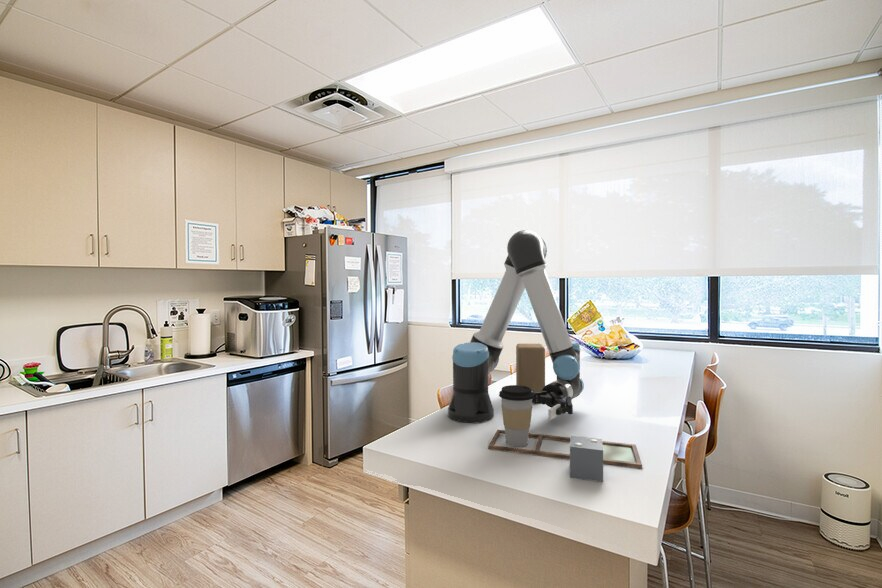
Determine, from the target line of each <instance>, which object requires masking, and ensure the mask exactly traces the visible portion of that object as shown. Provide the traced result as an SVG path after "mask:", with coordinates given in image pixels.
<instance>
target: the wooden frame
mask: <svg viewBox="0 0 882 588" xmlns="http://www.w3.org/2000/svg"><path fill="white" fill-rule="evenodd" d="M500 435H505V429H497V430H496V432H495V433H494V435H493V437H492V439H491V440H490V442H489V444H488V445H487V449H488V450H494V451H502V452H510V453H517V454H525V455H526V454H527V455H534V456H540V457H541V456H542V457H548V458H549V457H550V458H558V459H565V460H570V453H569V454H567V453H562V452H561V453H560V452H552V451H544V450H541V446H542V443H543V439H545V440H550V441H551V440H554V441H562V442H569V443H570V439H571V436H569V437H568V436H559V435H552V434H551V435H550V434H544V433H542V434H541V433H534V432H533V433H532V432H529V437H528V438H536V439H537V440H536V441H537V442H536V445H535V448H534V449H527V448H522V447H513V446H504V445H495V444H496V442H497V441H498V439H499V438H500ZM602 444H603V465H604V464H605V465H613V466H618V467H619V466H620V467H627V466H629V467H630V468H635V467H638V468H637V469H643V463H642V459H641V457H640V454H639V450H638V447H637V444H633V443H625V442H615V441H605V440H602ZM629 467H628V468H629Z"/></svg>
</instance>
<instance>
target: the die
mask: <svg viewBox="0 0 882 588" xmlns="http://www.w3.org/2000/svg"><path fill="white" fill-rule="evenodd" d="M570 437H571V439H570V442H569V454H570V459H569V478H572V479H579V480H580V479H581V480H587V481H594V482H601V483H603V482H604V463H603V444H602V441H603V439H602V438H596V437H587V436H586V437H585V436H577V435H570Z"/></svg>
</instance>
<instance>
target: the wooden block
mask: <svg viewBox="0 0 882 588" xmlns="http://www.w3.org/2000/svg"><path fill="white" fill-rule="evenodd" d="M515 348H516V349H515V355H516V358H515V360H516V361H515V364H516V365H515V367H516V368H515V370H516V371H515V373H516V374H515V375H516V377H515V378H516V380H515V385H520V386H526V387H529V388H530V389H531V390H533V392H541V391H542V389H543V388H544V387H545V386H546V349H545V347H544V346H543V345H542V344H540V343H517V344H516V346H515ZM536 401H538V400H537V399H536Z"/></svg>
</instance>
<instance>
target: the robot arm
mask: <svg viewBox="0 0 882 588" xmlns="http://www.w3.org/2000/svg"><path fill="white" fill-rule="evenodd" d="M506 248H507V249H506V251H507V256H506V258H505V261H504V263H503V264H504V268H505V272H504V274H503V277H502V278H501V281H500V282H499V286H498V287H497V290H496V293H495V295H494V297H493V299H492V301H491V304H490V306H489V308H488V311H487V313H486V316H485V317H484V320H483V322H482V324H481V327H480V329H479V331H476V332H474V333H473V334H472V336H471V338H470V341H469V342H464V343H460V344H457V345H455V347H454V348H453V351H452V356H451V357H452V358H451V359H452V390H453V391H452V395H451V398H450V400H449V404H448V407H447V416H448V418H450V419H451V420H453V421H456V422H460V423H483V422H487V421H490V420H492V419H493V418H494V417H495V415H494V411H495V410H494V407H493V403H492V400H491V398H490V394H489V374H490V373H492V371H494V370H495V368H496V367H497V366H498V364H499V361H500V356H501V353H502V351H503V349H504V345H503V344H504V343H503V342H502V341H503V338H504V336H505V334H506V332H507V329H508V327H509V325H510V323H511V320H512V318H513V317H514V316H513V315H514V313H515V311H516V309H517V307H518V305H519V302H520V300H521V298H522V297H523V294H524V291H526V293H527V295H528V299H529V301H530V304H531V307H532V310H533V312H534V315H535V318H536V320H537V325H539V329H540V331H541V334H542V337H543V340H544V342H545V345H546V348H547V351H548V353H549V356H550V358H551V359H550V360H551V363H552V368H553V372H554V375H556V380H554V381H552V382H550V383H548V384H545V387H544V388H543V389H542V391H541V392H533V390H531V392H532V393H533V394H534V395H533V396H534V398H533V399H532V404H534V405H543V406H544V405H545V406H547V407H548V409H547V411H548V412H547V414H548V417H547V419H548V420H549V421H551V420H554V419H555V418H557V417H558V416H561V415H565V414H566V413H567V414H568V415H569V416H570V415H573V414H574V413H573V411H574V410H573V409H574V408H573V406H574V405H573V402H572V400H573V399H575V398H577V397H578V396H580V394H582V392H583V391H584V387H585V384H584V380H583V379H582V378H581V375H580V374H581V373H580V371H581V363H580V362H581V346H580V343H579V342H578V341H575V340H571V337H570V334H569V331H568V329H567V327H566V324H565V321H564V317H563V316H562V313H561V310H560V308H559V305H558V301H557V300H556V296H555V294H554V291H553V287H552V285H551V283H550V280H549V278H548V275H547V272H546V267H547V262H546V260H545V259H546V257H547V252H548V251H547V250H548V249H547V244H546V242H545V241H544V239H543V238H542V237H541V236H540V235H538V234H537V233H536V232H535V231H533V230H529V229H525V230H523V229H522V230H520V231H516V232H515V233H513V234H512V235H511V236H510V238H509V239H508V242H507V246H506ZM536 399H537V400H536Z"/></svg>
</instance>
